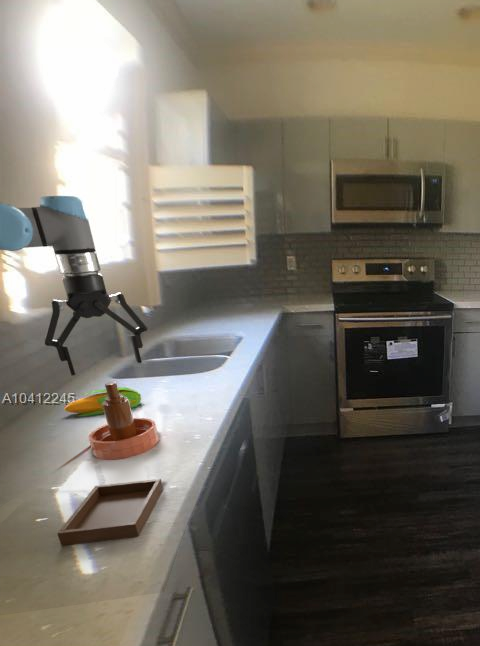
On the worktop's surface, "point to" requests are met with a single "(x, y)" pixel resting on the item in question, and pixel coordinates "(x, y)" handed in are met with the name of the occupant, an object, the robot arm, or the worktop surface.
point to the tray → (112, 512)
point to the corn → (100, 402)
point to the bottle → (118, 414)
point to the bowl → (124, 441)
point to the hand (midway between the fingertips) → (107, 367)
